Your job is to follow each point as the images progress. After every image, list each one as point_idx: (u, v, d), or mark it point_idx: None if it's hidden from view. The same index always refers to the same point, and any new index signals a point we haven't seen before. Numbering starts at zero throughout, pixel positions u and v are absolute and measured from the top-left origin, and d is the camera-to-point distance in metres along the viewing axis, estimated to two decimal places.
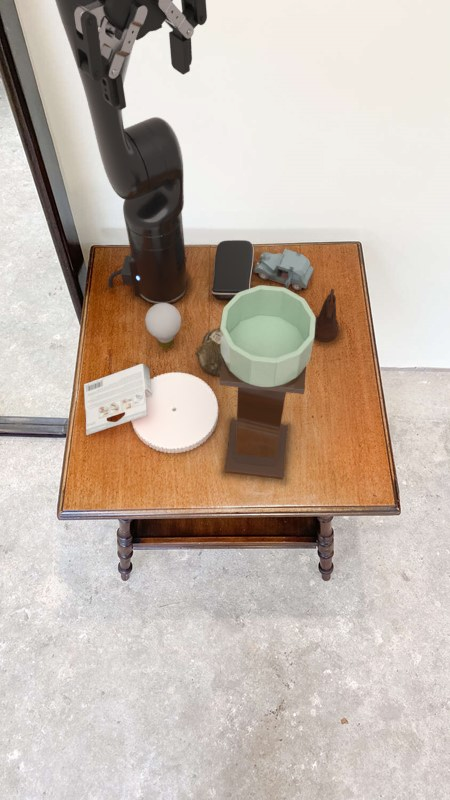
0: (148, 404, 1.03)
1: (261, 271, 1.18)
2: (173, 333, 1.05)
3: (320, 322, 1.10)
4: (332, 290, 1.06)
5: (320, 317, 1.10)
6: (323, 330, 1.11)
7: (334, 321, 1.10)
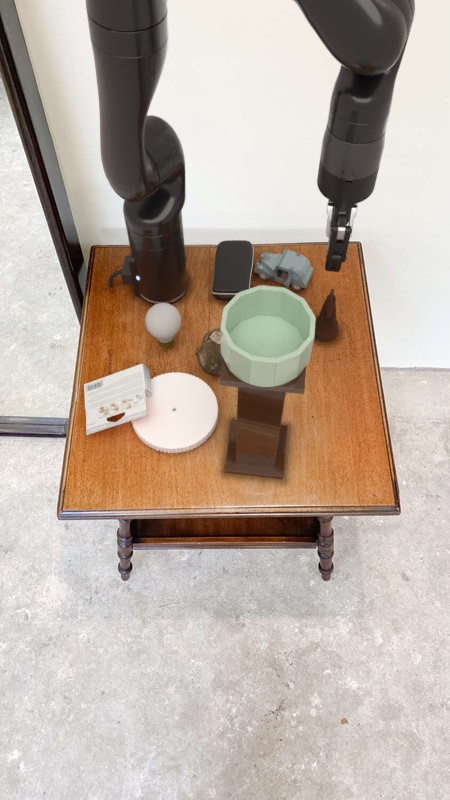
0: (148, 404, 1.03)
1: (261, 271, 1.18)
2: (173, 333, 1.05)
3: (320, 322, 1.10)
4: (332, 290, 1.06)
5: (320, 317, 1.10)
6: (323, 330, 1.11)
7: (334, 321, 1.10)
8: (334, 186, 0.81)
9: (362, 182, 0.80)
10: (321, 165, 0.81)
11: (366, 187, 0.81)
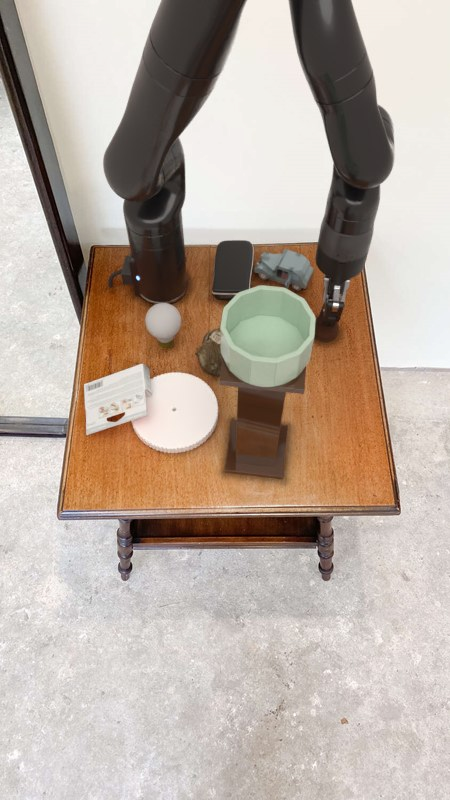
0: (148, 404, 1.03)
1: (260, 271, 1.18)
2: (173, 333, 1.05)
3: (320, 322, 1.10)
4: None
5: (320, 317, 1.10)
6: (323, 330, 1.11)
7: None
8: (330, 266, 0.95)
9: (354, 263, 0.94)
10: (319, 248, 0.95)
11: (358, 266, 0.95)
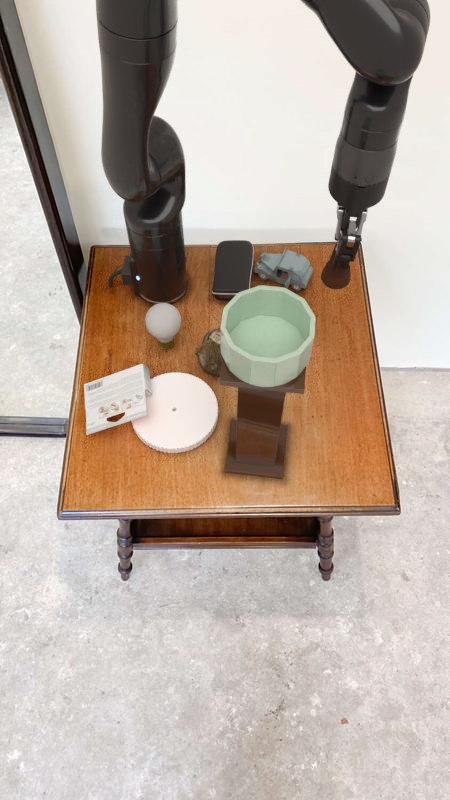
0: (148, 404, 1.03)
1: (260, 271, 1.18)
2: (173, 333, 1.05)
3: (331, 266, 0.98)
4: None
5: (331, 260, 0.98)
6: (334, 275, 0.99)
7: None
8: (346, 191, 0.83)
9: (374, 188, 0.82)
10: (333, 170, 0.82)
11: (377, 192, 0.83)
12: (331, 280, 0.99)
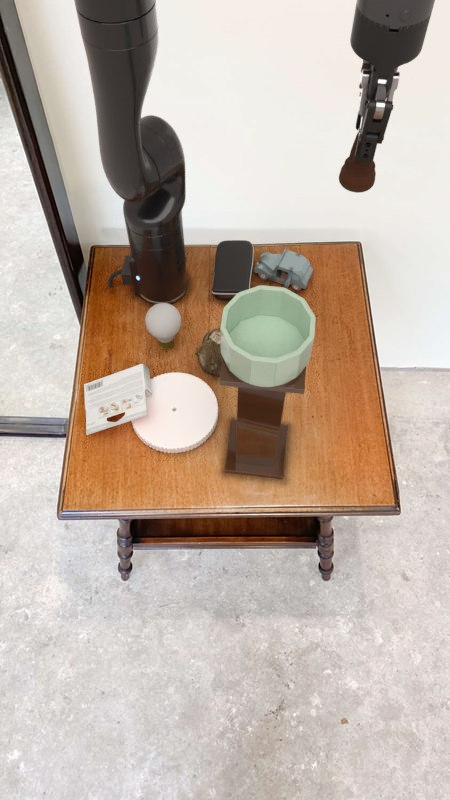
0: (148, 404, 1.03)
1: (260, 271, 1.18)
2: (173, 333, 1.05)
3: (352, 160, 0.80)
4: None
5: (352, 153, 0.80)
6: (355, 172, 0.81)
7: None
8: (374, 39, 0.65)
9: (410, 32, 0.64)
10: (358, 13, 0.64)
11: (415, 41, 0.65)
12: (352, 180, 0.81)
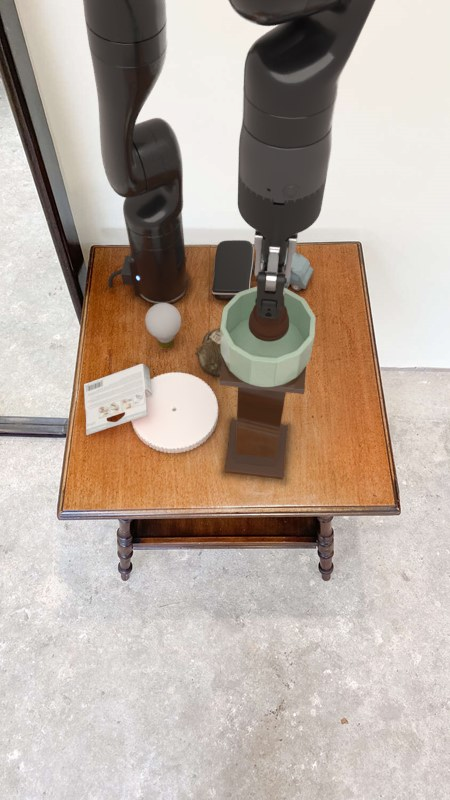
0: (148, 404, 1.03)
1: None
2: (173, 333, 1.05)
3: None
4: None
5: None
6: (264, 323, 0.71)
7: (281, 309, 0.70)
8: (259, 210, 0.55)
9: (299, 205, 0.54)
10: (239, 179, 0.55)
11: (307, 212, 0.55)
12: (260, 330, 0.71)
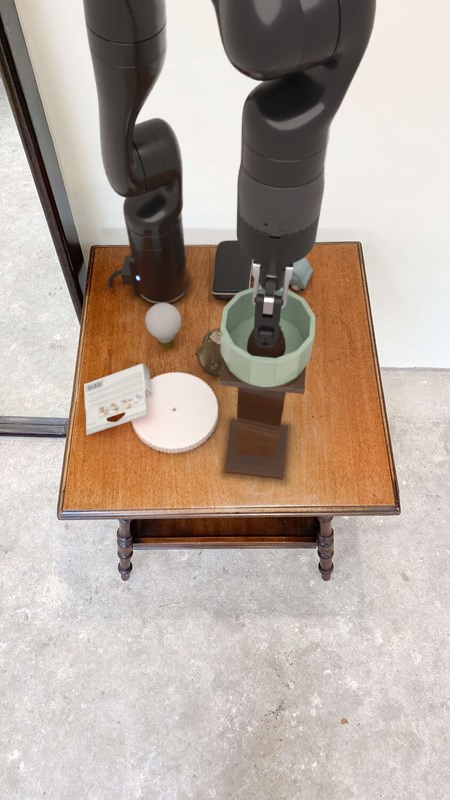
0: (148, 404, 1.03)
1: None
2: (173, 333, 1.05)
3: None
4: None
5: None
6: None
7: None
8: (256, 242, 0.58)
9: (294, 238, 0.57)
10: (238, 213, 0.58)
11: (301, 244, 0.58)
12: (258, 353, 0.75)
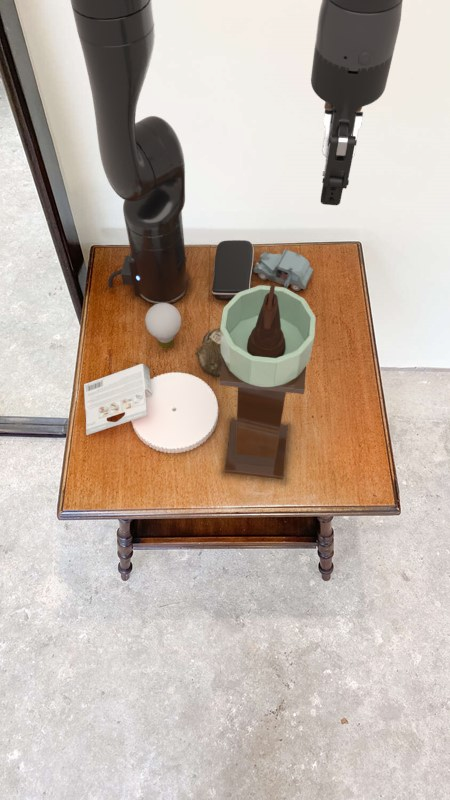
0: (148, 404, 1.03)
1: (260, 272, 1.18)
2: (173, 333, 1.05)
3: (257, 335, 0.74)
4: (271, 287, 0.70)
5: (257, 328, 0.74)
6: (261, 346, 0.74)
7: (277, 334, 0.74)
8: (333, 81, 0.62)
9: (370, 74, 0.61)
10: (316, 53, 0.62)
11: (376, 82, 0.62)
12: (258, 353, 0.75)
